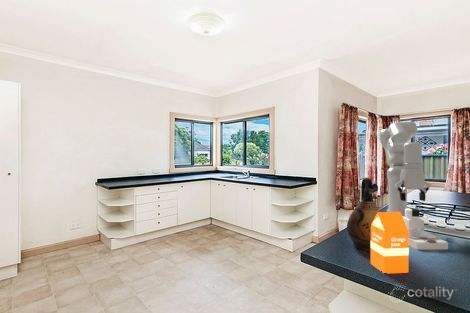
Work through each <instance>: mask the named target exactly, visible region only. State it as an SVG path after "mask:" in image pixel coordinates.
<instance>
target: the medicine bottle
mask: <svg viewBox="0 0 470 313" xmlns="http://www.w3.org/2000/svg"><path fill="white" fill-rule="evenodd" d="M420 213H421V212H420V210H419V209H418V208H412V207H407V209H405V216H406V217H403V216H402V217H403V219H404V221H405V224H406V226H407V228H408V229H421V230H424V231H425V220H424V219H421V218H420Z"/></svg>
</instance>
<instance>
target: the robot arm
mask: <svg viewBox="0 0 470 313" xmlns="http://www.w3.org/2000/svg"><path fill="white" fill-rule="evenodd" d="M416 134H418V125H417V124H416V123H415V122H414V121H400V122H399V121H398V122H397V121H396V122H393V123H391V124H390V125H389V126H388V128H385V129H384V128H383V129H381V131H380V132H379V140H380V143H381V146H382V148H383V149H384V152H385V157H386V162H387V165H388V166H389V168H388V169H387V171H386V179H387V185H388V190H387V192H388V204H387V205H388V208H387V209H386V212H401V214H402V216H403V217H406V216H405V209H407V208H408V190H418V191H419V193H418V194H419V196H418V197H419V201H422V202H425V201H426V194H427V192H428V191H429V190H430V187H431V183H429V182H428V181H426V179H425V173H424V169H423V167H424V166H425V165H424V164H422V163H423V161H422V160H423V159H422V157H423V149H422V148H423V147H422V146H423V144H422V143H421V142H409V141H410V140H411V139H412V138H414V137H415V136H416Z"/></svg>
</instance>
